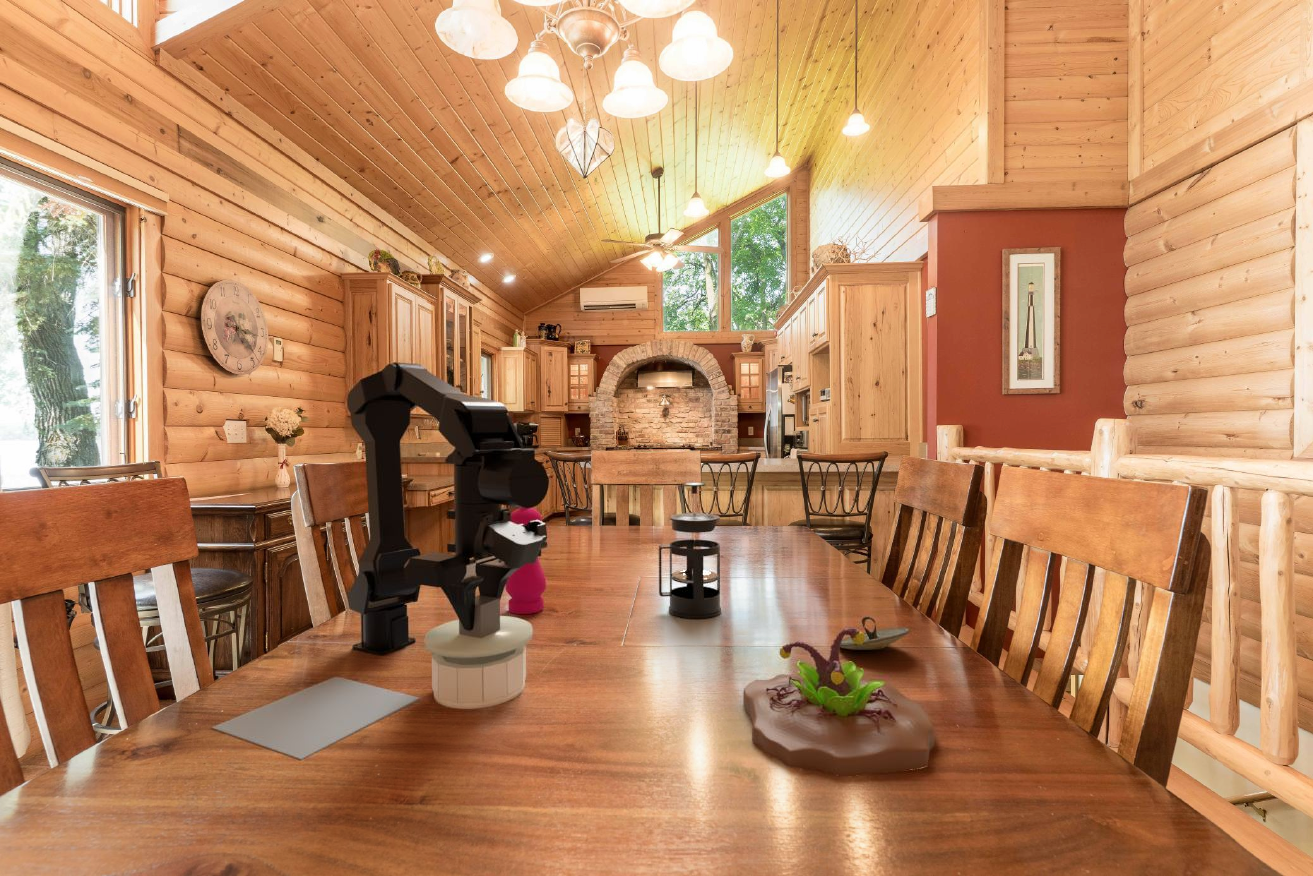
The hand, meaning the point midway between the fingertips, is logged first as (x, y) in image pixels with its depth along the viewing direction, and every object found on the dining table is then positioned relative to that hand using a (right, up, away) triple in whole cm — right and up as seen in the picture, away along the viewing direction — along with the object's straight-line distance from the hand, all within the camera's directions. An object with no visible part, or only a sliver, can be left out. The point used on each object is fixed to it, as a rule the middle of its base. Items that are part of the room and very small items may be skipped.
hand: (479, 625), depth 77 cm
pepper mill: (-1, -8, +34) cm, 35 cm away
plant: (+42, -9, -9) cm, 44 cm away
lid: (+54, -8, +13) cm, 56 cm away
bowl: (0, -8, 0) cm, 8 cm away
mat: (-16, -8, -6) cm, 19 cm away
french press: (+29, -8, +33) cm, 44 cm away
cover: (0, -2, 0) cm, 2 cm away
